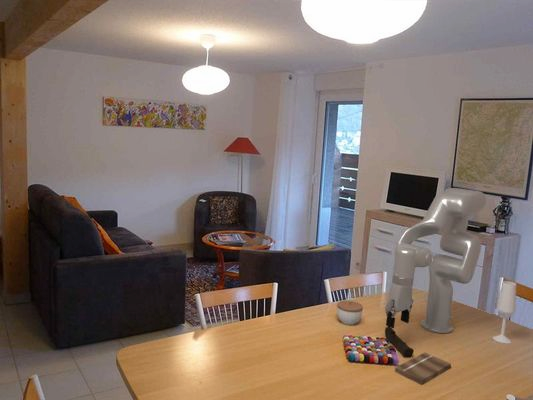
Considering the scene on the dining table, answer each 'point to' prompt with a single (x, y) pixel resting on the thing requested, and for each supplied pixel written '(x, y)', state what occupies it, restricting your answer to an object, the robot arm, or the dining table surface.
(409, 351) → the hand tool
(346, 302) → the lidded jar
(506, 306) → the champagne flute
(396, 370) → the board
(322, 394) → the dining table surface
